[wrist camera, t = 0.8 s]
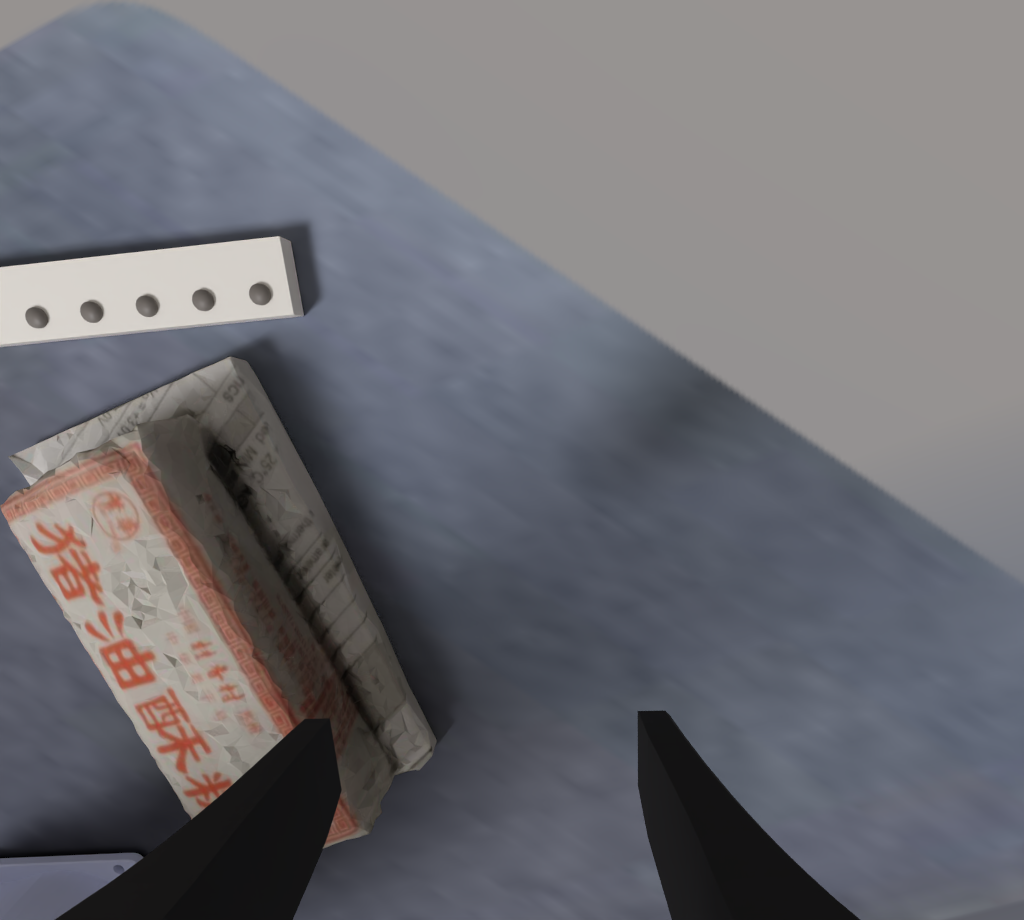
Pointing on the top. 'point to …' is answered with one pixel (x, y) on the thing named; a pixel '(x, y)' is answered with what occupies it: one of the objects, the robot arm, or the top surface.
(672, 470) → the top surface
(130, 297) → the perforated board
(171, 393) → the packaged product
